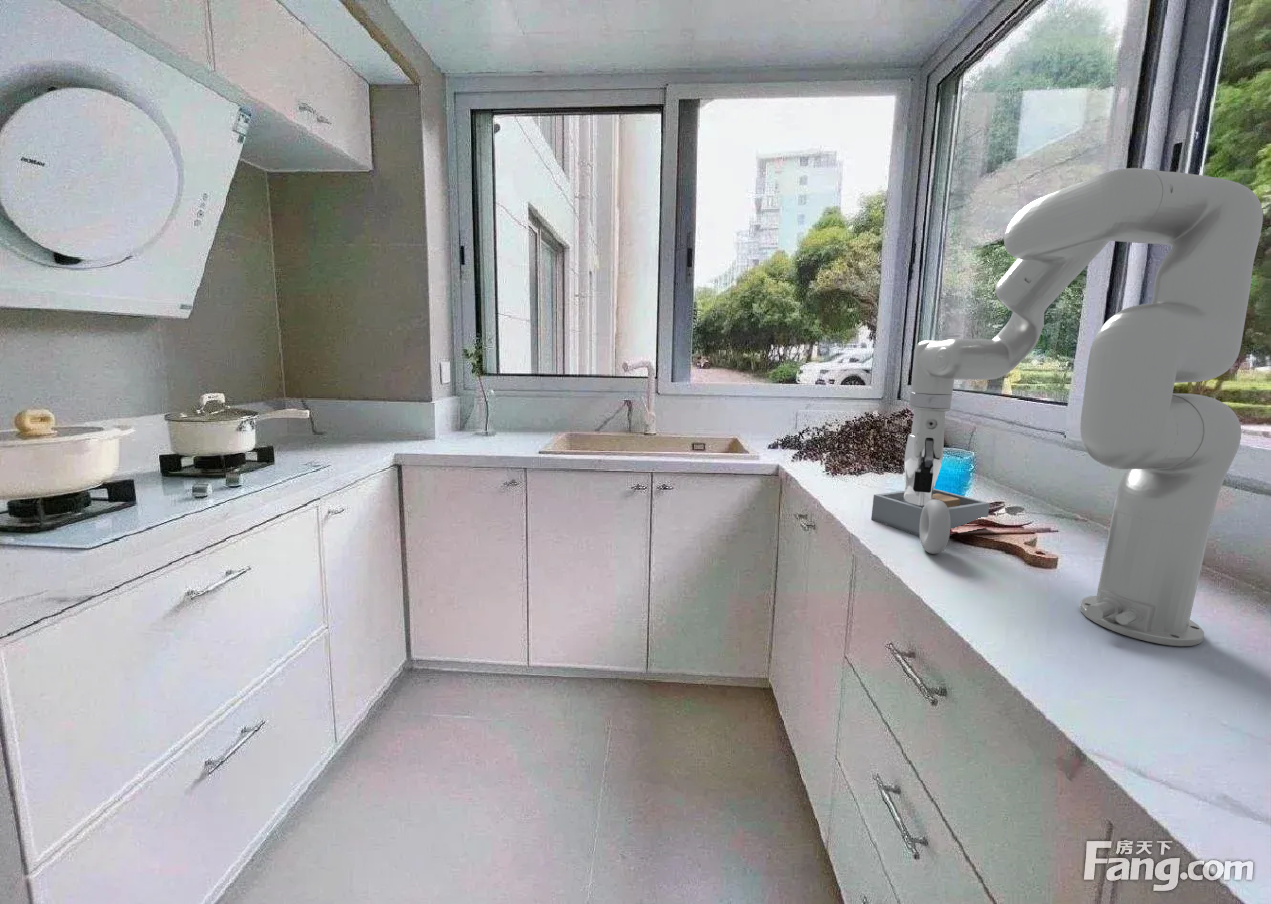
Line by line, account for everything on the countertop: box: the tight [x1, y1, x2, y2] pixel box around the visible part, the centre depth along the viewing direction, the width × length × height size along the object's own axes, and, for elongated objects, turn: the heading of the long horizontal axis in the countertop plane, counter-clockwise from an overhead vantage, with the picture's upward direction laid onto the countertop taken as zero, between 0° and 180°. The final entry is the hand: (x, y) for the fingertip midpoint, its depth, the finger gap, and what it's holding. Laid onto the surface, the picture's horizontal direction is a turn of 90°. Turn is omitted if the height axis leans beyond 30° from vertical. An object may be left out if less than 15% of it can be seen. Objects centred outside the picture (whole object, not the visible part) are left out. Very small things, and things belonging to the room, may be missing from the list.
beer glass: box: [902, 432, 945, 508], centre depth 115 cm, size 7×7×15 cm
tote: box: [870, 488, 991, 537], centre depth 118 cm, size 18×14×6 cm
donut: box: [919, 499, 951, 555], centre depth 101 cm, size 10×4×10 cm, turn 165°
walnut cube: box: [933, 493, 960, 508], centre depth 120 cm, size 5×5×5 cm
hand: (919, 486), depth 116 cm, fingers closed on beer glass, 6 cm apart
